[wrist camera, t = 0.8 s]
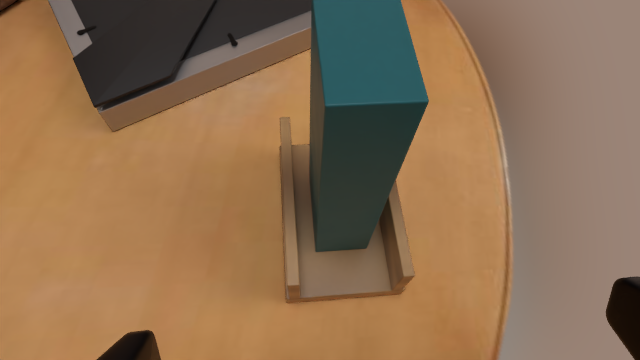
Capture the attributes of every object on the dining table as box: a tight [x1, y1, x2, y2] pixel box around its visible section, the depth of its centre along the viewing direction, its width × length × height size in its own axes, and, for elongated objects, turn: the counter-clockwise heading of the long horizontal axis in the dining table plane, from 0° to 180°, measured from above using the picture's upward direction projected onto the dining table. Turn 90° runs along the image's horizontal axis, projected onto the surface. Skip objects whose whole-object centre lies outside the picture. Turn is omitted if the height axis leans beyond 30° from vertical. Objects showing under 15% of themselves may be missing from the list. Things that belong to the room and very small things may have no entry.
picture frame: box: [48, 0, 312, 131], centre depth 32 cm, size 16×3×21 cm
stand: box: [280, 117, 415, 303], centre depth 23 cm, size 10×7×4 cm, turn 5°
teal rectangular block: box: [309, 0, 429, 252], centre depth 18 cm, size 5×3×13 cm, turn 5°
